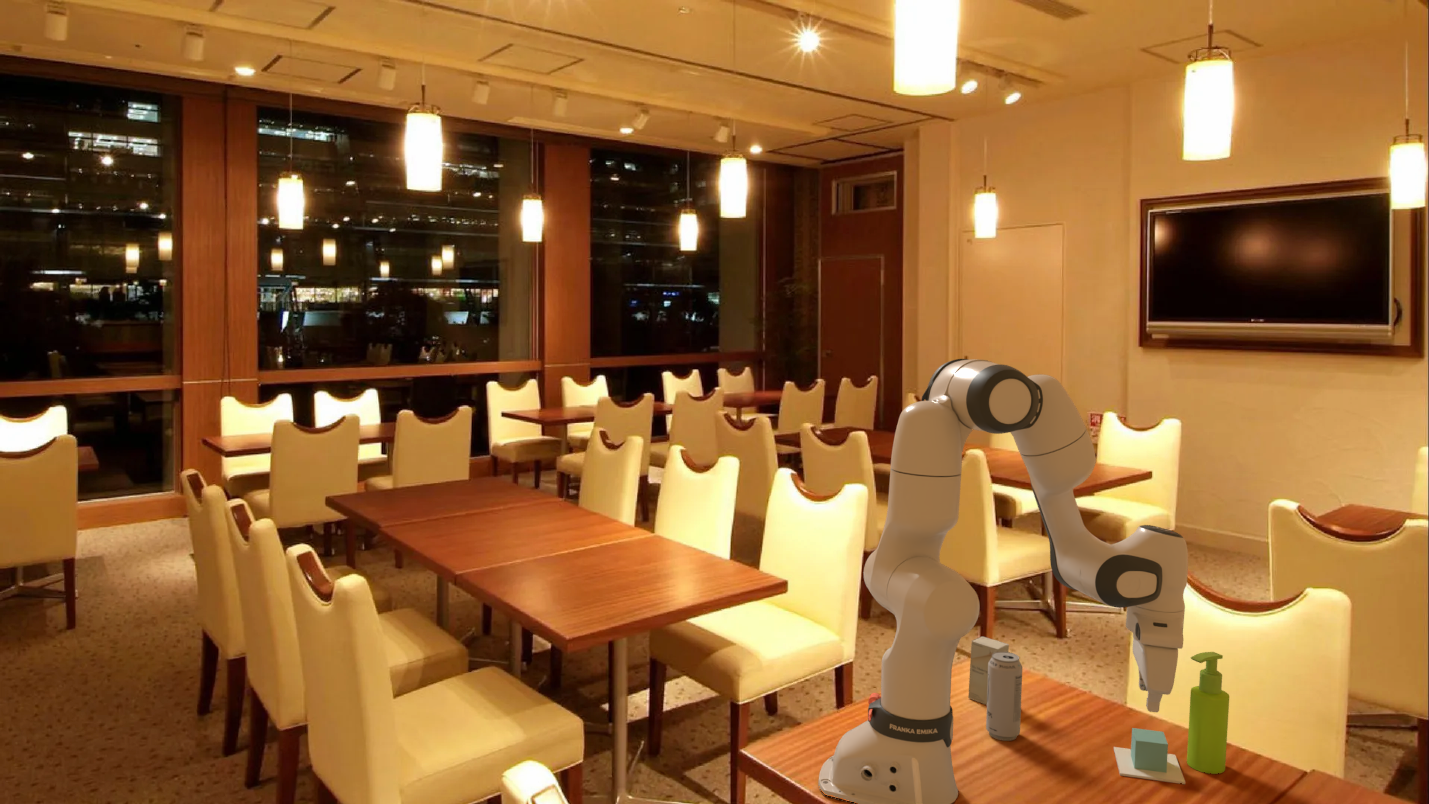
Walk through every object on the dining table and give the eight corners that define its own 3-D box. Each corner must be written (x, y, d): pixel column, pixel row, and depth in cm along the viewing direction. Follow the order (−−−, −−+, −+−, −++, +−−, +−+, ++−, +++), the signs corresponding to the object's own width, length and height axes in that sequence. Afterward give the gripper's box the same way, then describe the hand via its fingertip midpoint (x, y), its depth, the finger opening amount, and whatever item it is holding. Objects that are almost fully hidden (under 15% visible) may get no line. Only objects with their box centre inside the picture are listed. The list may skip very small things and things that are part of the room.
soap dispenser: (1174, 762, 164) (1180, 650, 162) (1203, 755, 167) (1210, 645, 165) (1203, 777, 159) (1209, 662, 157) (1233, 770, 162) (1239, 657, 160)
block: (1134, 768, 161) (1135, 740, 161) (1130, 755, 166) (1132, 727, 166) (1166, 772, 160) (1167, 744, 159) (1161, 759, 165) (1163, 731, 164)
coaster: (1120, 775, 160) (1120, 773, 160) (1113, 748, 169) (1113, 746, 169) (1185, 784, 157) (1185, 781, 157) (1174, 756, 166) (1175, 754, 166)
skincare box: (967, 698, 191) (969, 640, 190) (979, 692, 194) (981, 635, 193) (995, 708, 186) (997, 648, 185) (1007, 702, 189) (1009, 643, 188)
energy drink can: (988, 725, 179) (991, 648, 177) (1021, 731, 176) (1024, 653, 175) (983, 738, 173) (986, 659, 172) (1017, 744, 171) (1020, 664, 169)
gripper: (1127, 601, 171) (1121, 675, 172) (1142, 637, 152) (1135, 720, 153) (1165, 605, 169) (1159, 680, 171) (1185, 642, 150) (1178, 726, 151)
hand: (1148, 699), depth 162 cm, fingers open, 8 cm apart
